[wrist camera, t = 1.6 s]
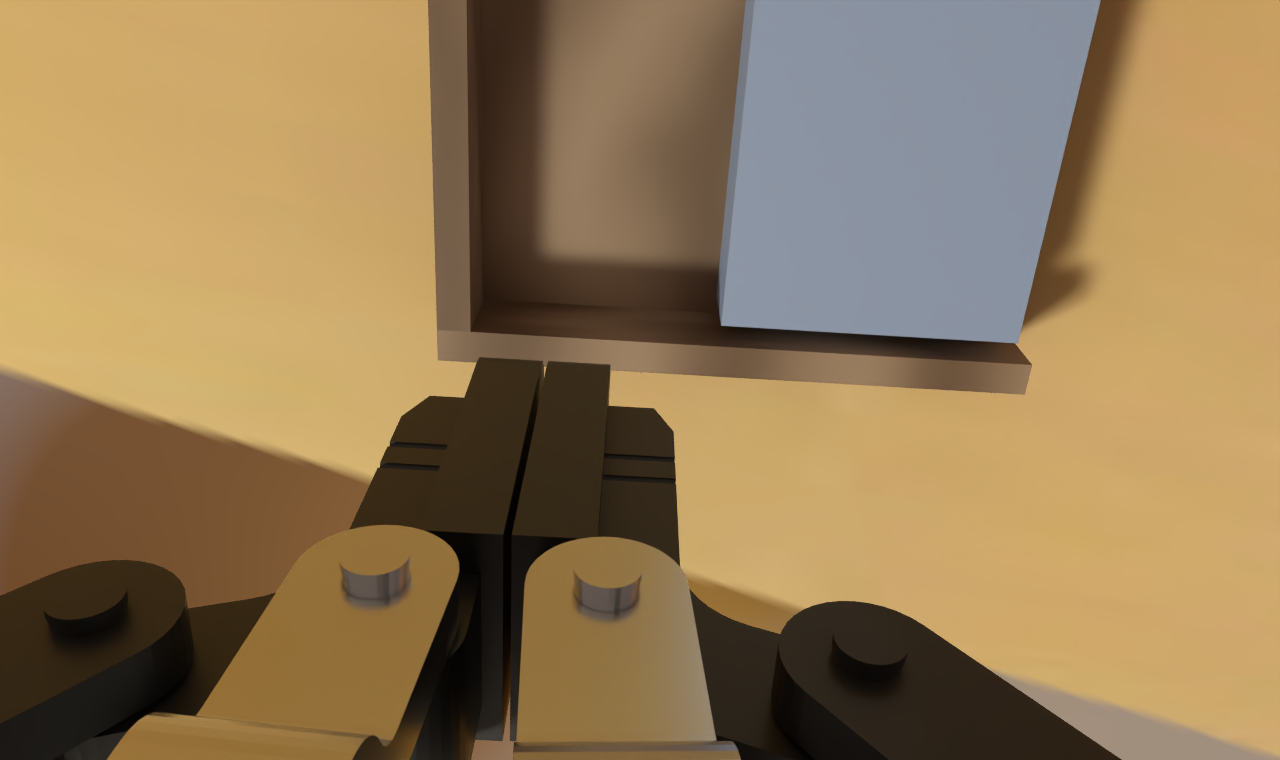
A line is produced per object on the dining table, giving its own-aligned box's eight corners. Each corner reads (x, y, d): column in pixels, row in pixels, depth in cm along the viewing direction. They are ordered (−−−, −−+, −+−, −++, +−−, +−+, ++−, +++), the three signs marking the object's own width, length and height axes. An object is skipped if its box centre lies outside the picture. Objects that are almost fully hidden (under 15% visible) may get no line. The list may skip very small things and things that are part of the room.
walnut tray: (1106, -159, 28) (1164, -164, 25) (990, 348, 35) (1024, 394, 32) (447, -204, 28) (422, -215, 25) (457, 316, 34) (438, 360, 31)
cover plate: (1085, -95, 28) (1123, -93, 26) (992, 312, 33) (1017, 343, 31) (757, -118, 28) (766, -117, 26) (716, 295, 33) (721, 325, 31)
